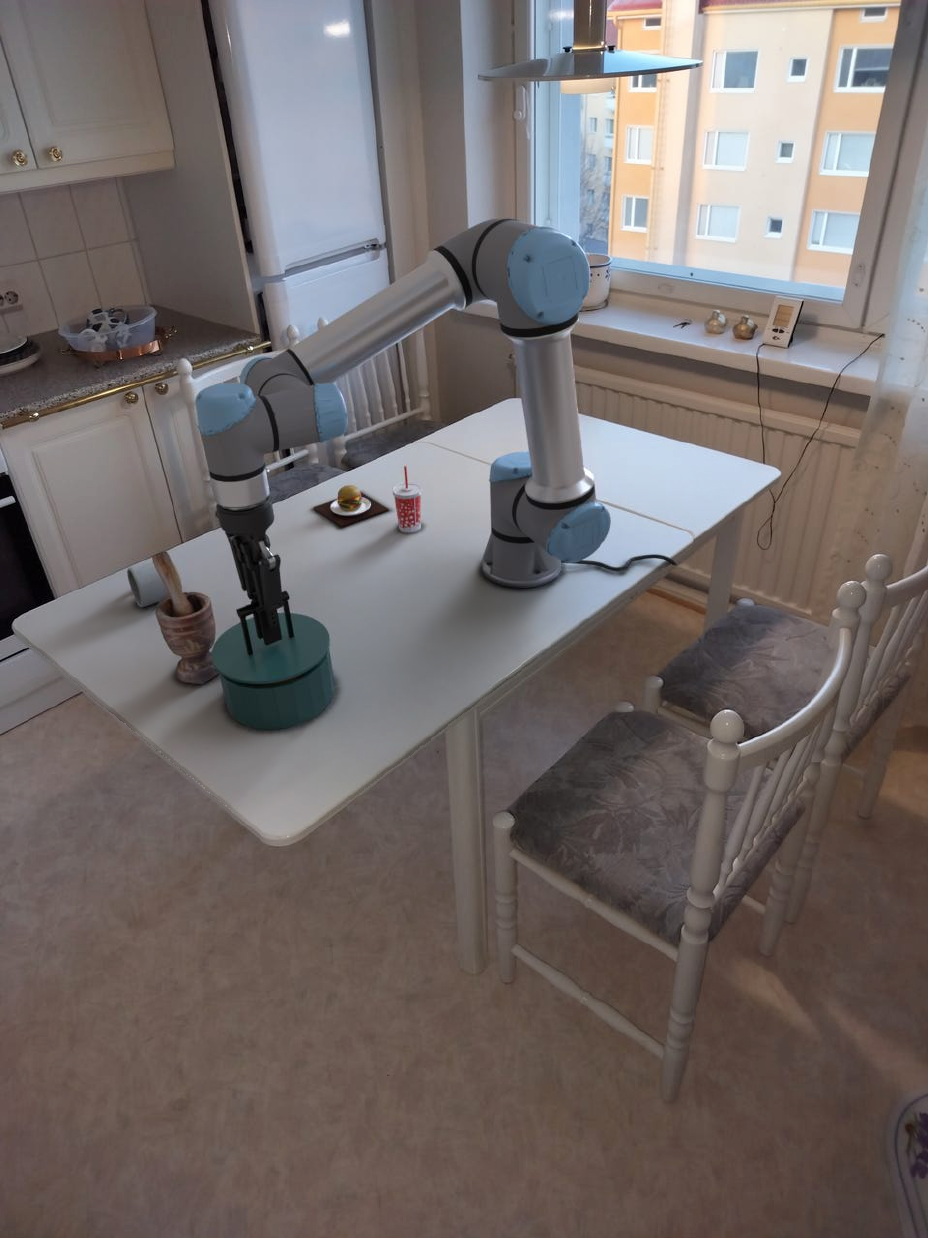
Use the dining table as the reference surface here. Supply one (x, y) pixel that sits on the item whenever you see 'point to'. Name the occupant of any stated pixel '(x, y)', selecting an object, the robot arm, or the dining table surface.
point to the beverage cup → (408, 505)
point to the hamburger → (350, 507)
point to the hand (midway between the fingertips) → (270, 638)
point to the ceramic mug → (148, 584)
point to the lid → (270, 648)
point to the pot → (281, 699)
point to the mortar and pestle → (186, 625)
